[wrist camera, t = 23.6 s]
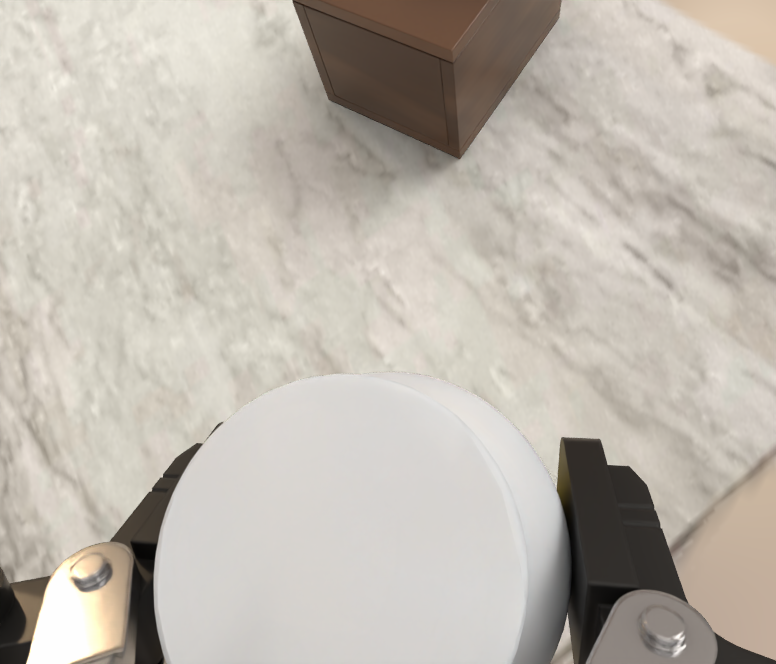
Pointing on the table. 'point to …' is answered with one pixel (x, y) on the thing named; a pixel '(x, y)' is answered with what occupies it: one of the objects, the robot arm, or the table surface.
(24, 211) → the table surface
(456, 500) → the pill bottle
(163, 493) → the robot arm
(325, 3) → the lid
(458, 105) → the box
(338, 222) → the table surface
